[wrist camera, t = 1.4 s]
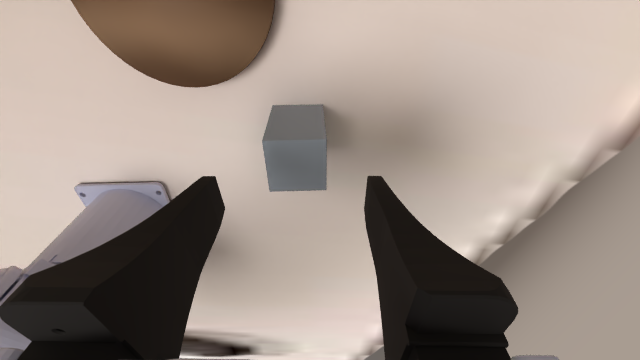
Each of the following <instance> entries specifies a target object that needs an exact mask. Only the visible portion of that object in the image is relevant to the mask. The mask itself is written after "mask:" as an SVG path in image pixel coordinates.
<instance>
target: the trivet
mask: <svg viewBox="0 0 640 360" xmlns="http://www.w3.org/2000/svg"><path fill="white" fill-rule="evenodd" d="M71 1H72V3H73V4H74V6H75V8H76V9H77V11H78V12H79V14H80V16H81V17H82V18H83V20H84V21H85V22H86V24H87V25H88V26H89V28H90V29H91V30H92V31H93V32H94V34H95V35H96V36H97V37H98V38H99V39H100V40H101V42H103V43H104V44H105V45H106V46H107V47H108V48H109V49H110V50H111V51H112V52H113V53H114V54H115V55H117V56H118V57H119V58H120V59H122V60H123V61H124V62H126V63H127V64H129V65H130V66H132V67H133V68H135V69H136V70H138V71H140V72H142V73H144V74H145V75H147V76H149V77H152V78H154V79H157V80H159V81H161V82H165V83H168V84H172V85H177V86H183V87H207V86H211V85H216V84H219V83H222V82H224V81H227V80H229V79H231V78H232V77H234V76H236V75H237V74H239V73H240V72H241V71H242V70H243V69H245V68H246V67H247V66H248V65H249V63H250V62H251V61H252V60H253V59H254V58H255V56H256V55H257V53H258V52H259V50H260V49H261V47H262V46H263V44H264V42H265V40H266V38H267V36H268V33H269V30H270V27H271V24H272V19H273V14H274V6H275V0H71Z"/></svg>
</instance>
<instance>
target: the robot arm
mask: <svg viewBox="0 0 640 360" xmlns="http://www.w3.org/2000/svg"><path fill="white" fill-rule="evenodd" d="M74 189H75V191H76V193H77V194H78V196H79V197H80V199H81V200H82V202H83V203H84V205H85V206H86V208H85V209H84V210H83V211H82V212H81V213H80V214H79V215H78V216H77V217H76V218H75V219H74V220H73V221H72V222H71V223H70V224H69V225H68V226H67V227H66V228H65V229H64V230H63V231H62V232H61V233H60V235H59V236H58V237H57V238H56V239H55V240H54V241H53V242H52V243H51V244H50V245H49V246H48V247H47V248H46V249H45V250H44V251H43V252H42V253H41V254H40V255H39V256H38V257H37V258H36V259H35V260H34V261H33V262H32V263H31V264H30V265H29V266H28V267H26V268H25V269H23V270H22V269H20V268H18V267H16V266H10V267H8V268H3V269H0V360H248V359H182V358H180V359H179V356H180V351H181V346H182V341H183V337H184V333H185V328H186V324H187V320H188V316H189V312H190V309H191V305H192V301H193V298H194V294H195V291H196V287H197V284H198V281H199V277H200V274H201V272H202V269H203V266H204V264H205V262H206V259H207V257H208V255H209V252H210V250H211V248H212V245H213V243H214V241H215V238H216V236H217V233H218V231H219V229H220V226H221V222H222V219H223V215H224V210H225V206H224V203H223V200H222V196H221V193H220V190H219V187H218V183H217V180H216V177H215V176H203V177H201V178H200V179H198V180H197V181H196V182H194V183H193V184H192V185H191V186H189V187H188V188H187V189H186V190H184V191H183V192H182V193H181V194H179V195H178V196H177V197H176V198H174V199H173V200H172V201H170V200H169V198H168V196H167V193H166V191H165V189H164V186H163V185H162V184H161V183H159V182H143V183H101V184H78V185H77V186H75V187H74ZM158 191H160V192H158ZM364 211H365V221H366V229H367V234H368V238H369V243H370V247H371V252H372V256H373V260H374V265H375V270H376V275H377V283H378V291H379V300H380V310H381V319H382V329H383V340H384V352H385V360H559V359H558V358H557V357H555V356H551V355H548V356H547V355H519V356H515V357H512V358H510V356H509V354H508V352H507V350H506V348H507V347H508V341H507V339H506V337H505V335H504V332H505V330H506V329H507V328H508V327H509V325H510V324H511V323H512V322H513V321H514V319H515V317H516V315H517V314H518V307H517V305H516V303H515V301H514V299H513V298H512V296H511V294H510V292H509V290H508V289H507V287H506V286H505V285H504V283H503V281H502V280H501V278H499V277H497V276H495V275H494V274H492V273H490V272H488V271H486V270H484V269H483V268H481V267H479V266H478V265H476V264H474V263H473V262H471V261H469V260H468V259H466V258H465V257H463V256H462V255H460V254H459V253H457V252H456V251H454V250H453V249H451V248H450V247H449V246H447V245H446V244H445V243H443V242H442V241H441V240H439V239H438V238H437V237H436V236H434V235H433V234H432V233H431V232H430V231H429V230H427V229H426V228H425V227H424V226H423V225H422V224H421V223H420V222H419V221H418V220H417V219H416V218H415V217H414V216H413V215H412V214H411V213H410V212H409V211H408V210H407V208H406V207H405V206H404V205H403V204H402V203H401V201H400V200H399V199H398V198H397V197H396V195H395V194H394V193H393V191H392V190H391V189H390V187H389V186H388V185H387V183H386V182H385V180H384V179H383V178H382V177H381V176H368V179H367V188H366V197H365V206H364Z"/></svg>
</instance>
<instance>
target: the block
mask: <svg viewBox="0 0 640 360" xmlns="http://www.w3.org/2000/svg"><path fill="white" fill-rule="evenodd" d="M262 143H263V150H264V156H265V163H266V170H267V177H268V183H269V190H270V192H272V191H310V190H326V166H327V138H326V129H325V119H324V110H323V105H273V106H272V110H271V113H270V116H269V120H268V123H267V126H266V130H265V133H264V136H263V140H262Z"/></svg>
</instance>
